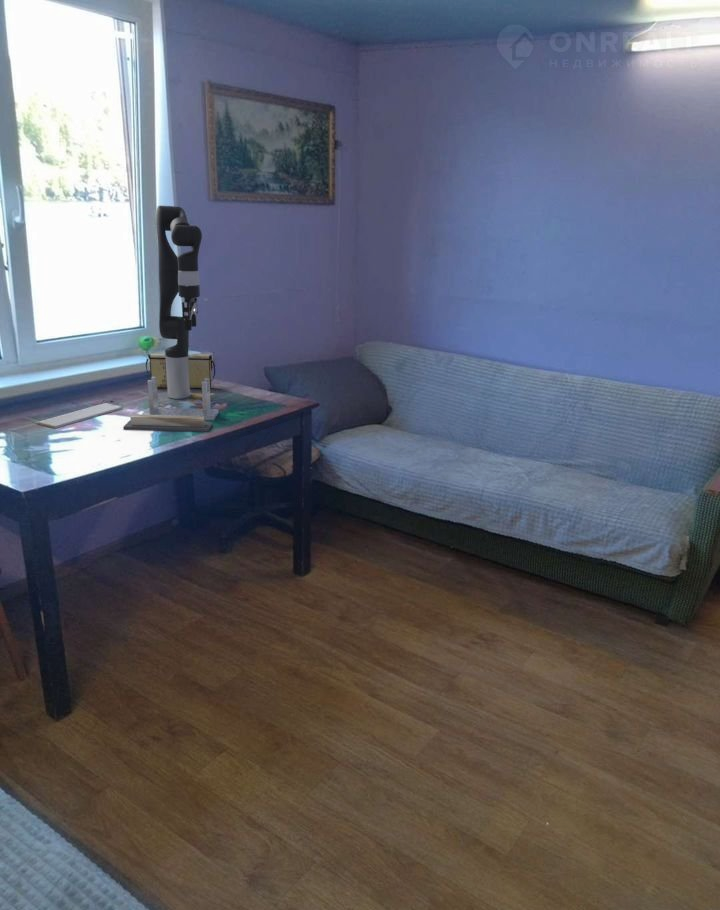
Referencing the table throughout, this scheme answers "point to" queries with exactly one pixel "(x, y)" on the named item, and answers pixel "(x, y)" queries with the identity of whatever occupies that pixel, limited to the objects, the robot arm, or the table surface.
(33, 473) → the table surface
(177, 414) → the hook rack
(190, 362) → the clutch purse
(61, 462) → the table surface
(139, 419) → the birch rail
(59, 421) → the baseboard molding
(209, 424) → the rubber mat
